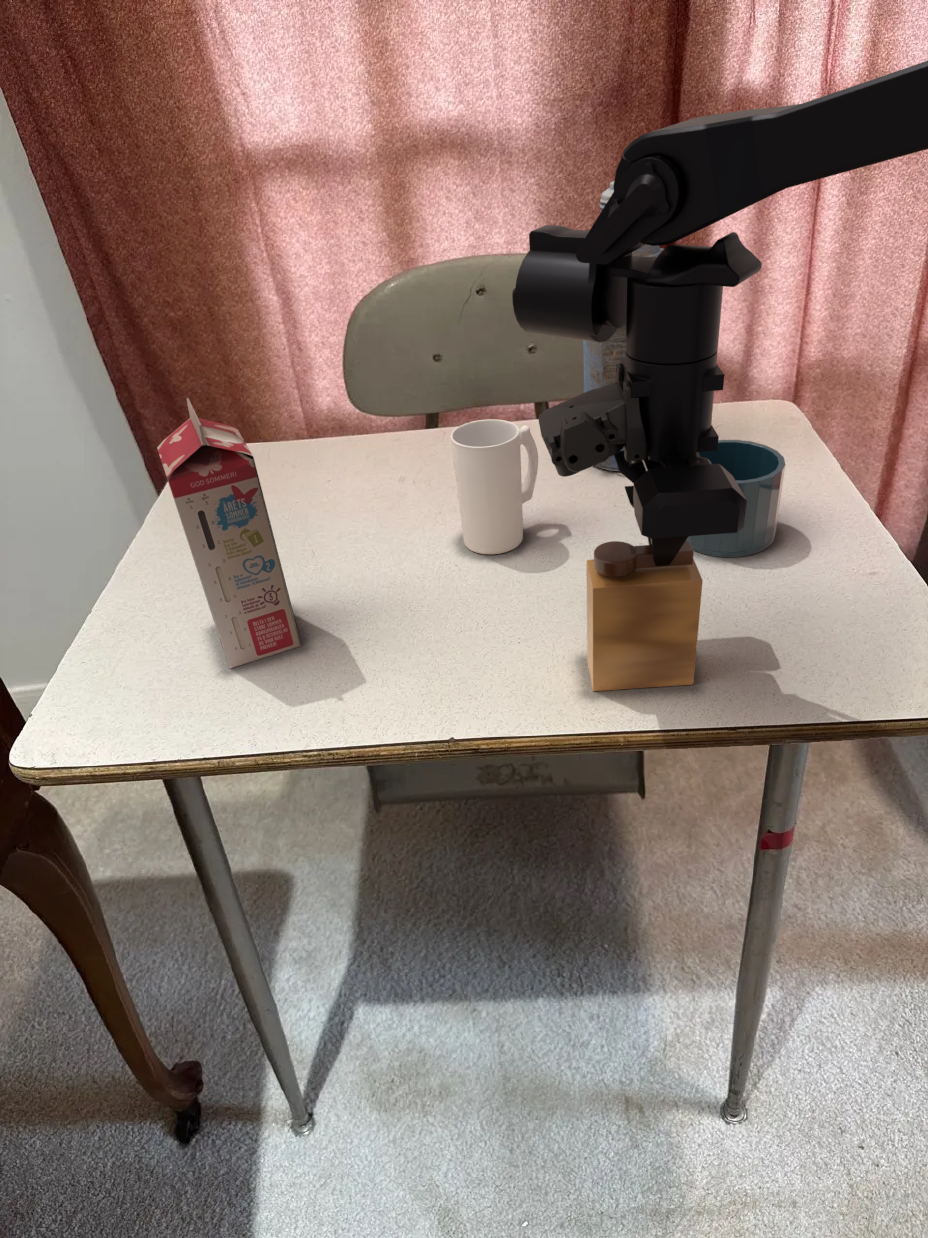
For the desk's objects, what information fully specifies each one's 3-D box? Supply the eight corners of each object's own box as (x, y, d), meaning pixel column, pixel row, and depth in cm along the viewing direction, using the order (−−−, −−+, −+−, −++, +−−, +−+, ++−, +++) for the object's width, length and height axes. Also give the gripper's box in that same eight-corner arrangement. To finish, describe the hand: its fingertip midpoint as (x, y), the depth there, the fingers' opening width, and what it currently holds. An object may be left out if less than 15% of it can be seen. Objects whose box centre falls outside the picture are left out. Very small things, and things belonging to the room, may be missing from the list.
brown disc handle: (686, 548, 64) (687, 535, 63) (695, 571, 61) (697, 557, 60) (591, 556, 64) (591, 542, 63) (596, 578, 61) (596, 564, 61)
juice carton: (284, 609, 81) (226, 389, 68) (301, 645, 76) (242, 414, 63) (216, 630, 79) (144, 407, 66) (229, 668, 74) (153, 435, 61)
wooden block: (683, 654, 70) (691, 551, 64) (693, 684, 67) (703, 579, 61) (587, 660, 70) (586, 559, 65) (592, 691, 67) (592, 588, 61)
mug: (489, 564, 84) (480, 453, 77) (448, 541, 89) (436, 434, 82) (561, 526, 89) (558, 420, 82) (519, 506, 93) (513, 403, 87)
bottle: (586, 475, 98) (584, 193, 81) (581, 440, 106) (579, 177, 89) (668, 471, 97) (685, 184, 80) (658, 436, 105) (671, 168, 88)
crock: (784, 518, 86) (794, 446, 82) (761, 565, 80) (771, 489, 75) (691, 503, 90) (697, 434, 86) (663, 547, 84) (667, 474, 79)
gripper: (534, 318, 61) (542, 507, 70) (557, 417, 46) (563, 642, 55) (688, 304, 61) (676, 497, 70) (762, 399, 45) (734, 630, 55)
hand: (659, 558), depth 62 cm, fingers closed on brown disc handle, 1 cm apart
